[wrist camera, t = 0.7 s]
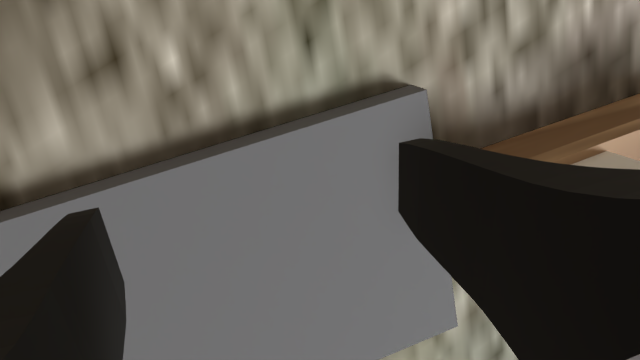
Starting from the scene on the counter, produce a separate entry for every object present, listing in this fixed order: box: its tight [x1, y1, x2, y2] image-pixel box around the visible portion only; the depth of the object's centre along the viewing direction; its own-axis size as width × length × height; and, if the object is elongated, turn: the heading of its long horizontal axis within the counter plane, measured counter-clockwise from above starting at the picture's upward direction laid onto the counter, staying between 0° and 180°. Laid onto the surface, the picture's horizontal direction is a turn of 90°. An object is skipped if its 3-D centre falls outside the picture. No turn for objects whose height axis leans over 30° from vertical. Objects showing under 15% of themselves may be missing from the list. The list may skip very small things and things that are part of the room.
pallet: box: [481, 94, 640, 165], centre depth 25 cm, size 5×18×4 cm, turn 103°
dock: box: [0, 85, 458, 360], centre depth 22 cm, size 14×22×2 cm, turn 103°
